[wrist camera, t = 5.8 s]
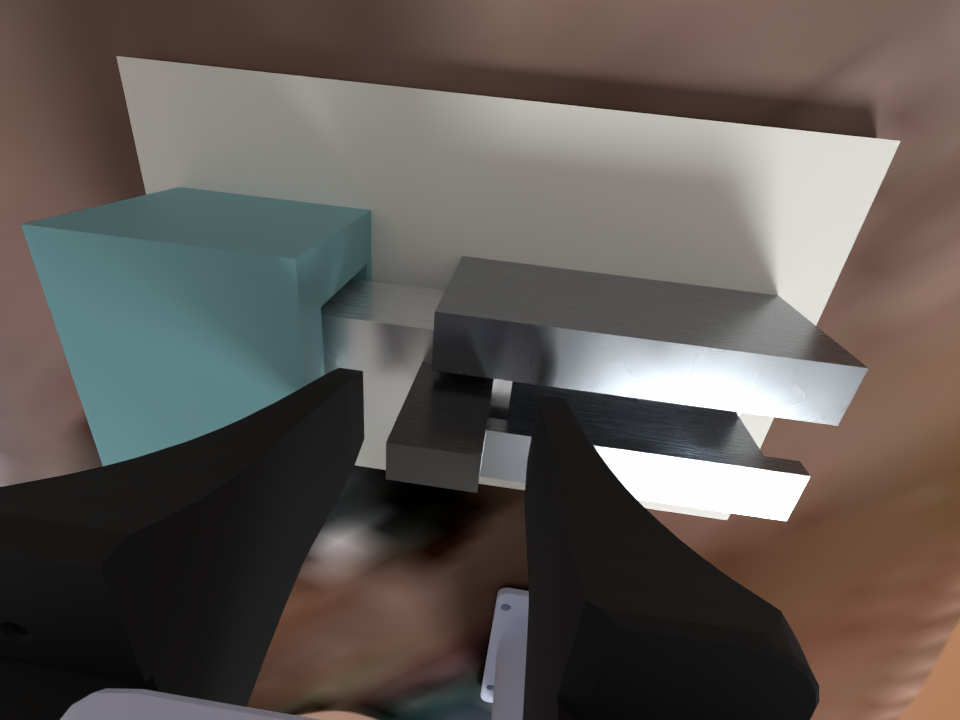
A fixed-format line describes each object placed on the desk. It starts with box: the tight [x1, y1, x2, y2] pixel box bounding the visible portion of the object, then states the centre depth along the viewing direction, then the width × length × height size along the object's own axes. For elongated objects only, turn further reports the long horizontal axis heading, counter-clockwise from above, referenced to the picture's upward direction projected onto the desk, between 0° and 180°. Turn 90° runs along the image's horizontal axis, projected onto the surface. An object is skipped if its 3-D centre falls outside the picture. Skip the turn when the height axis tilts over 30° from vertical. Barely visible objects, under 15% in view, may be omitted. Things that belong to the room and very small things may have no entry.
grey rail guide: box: [431, 256, 868, 521], centre depth 15 cm, size 5×10×5 cm, turn 85°
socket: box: [21, 187, 372, 466], centre depth 15 cm, size 7×6×6 cm
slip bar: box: [321, 278, 513, 493], centre depth 13 cm, size 3×10×7 cm, turn 85°
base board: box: [116, 56, 900, 520], centre depth 17 cm, size 14×22×1 cm, turn 85°
